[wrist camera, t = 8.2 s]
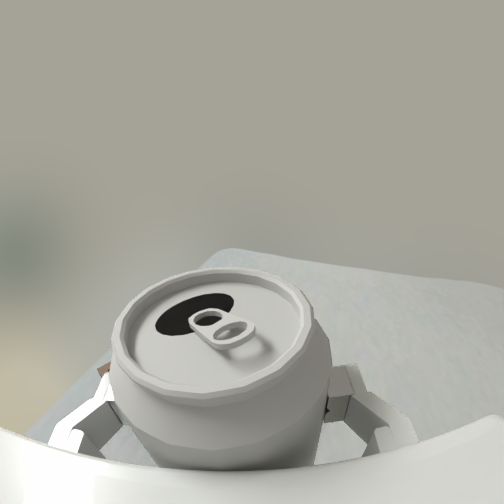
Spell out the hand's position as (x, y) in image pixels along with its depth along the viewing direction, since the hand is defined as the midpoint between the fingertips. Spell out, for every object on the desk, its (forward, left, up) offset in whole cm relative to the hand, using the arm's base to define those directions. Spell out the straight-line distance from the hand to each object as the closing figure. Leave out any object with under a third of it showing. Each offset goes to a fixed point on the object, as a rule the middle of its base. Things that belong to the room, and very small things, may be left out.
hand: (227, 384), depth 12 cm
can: (+1, +1, -8) cm, 8 cm away
